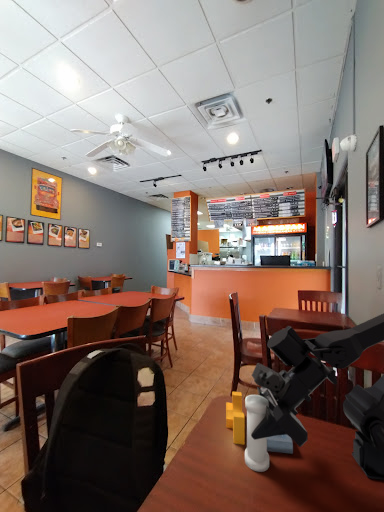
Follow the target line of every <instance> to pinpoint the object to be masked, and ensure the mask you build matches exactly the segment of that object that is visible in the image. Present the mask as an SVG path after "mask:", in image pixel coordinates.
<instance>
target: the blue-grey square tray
mask: <svg viewBox="0 0 384 512" xmlns="http://www.w3.org/2000/svg"><path fill="white" fill-rule="evenodd" d="M293 444H294V441H293V439H292V438H291V437H290V436H288V435H277V436H271V437H267V452H271V453H272V452H274V453H282V454H283V453H284V454H291V455H292V454H294V445H293Z"/></svg>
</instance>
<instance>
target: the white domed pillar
mask: <svg viewBox="0 0 384 512" xmlns="http://www.w3.org/2000/svg"><path fill="white" fill-rule="evenodd" d="M244 403H245V405H244V407H245V409H246V448H245V450H244V463H245V465H246V466H247V467H248V468H249V469H251V470H252V471H254V472H258V473H259V472H261V473H262V472H265V471H267V470H268V469H269V468H270V455H269V453H268V451H267V437H266V438H261V439H256V440H254V439H253V438H252V437H251V434H252V432H253V431H254V430H255V428H256V427H257V426H258V425H259V423H260V422H261V421H262V420H263V418H264V417H265V416H266V405H267V406H268V407H269V402H268V400H267V399H266V398H264V397H262V396H260V395H258V394H248V395H247V396H246V397H245V401H244Z"/></svg>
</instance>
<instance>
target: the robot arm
mask: <svg viewBox="0 0 384 512" xmlns="http://www.w3.org/2000/svg"><path fill="white" fill-rule="evenodd" d="M381 342H384V313H381V314H378V315H376V316H375V317H372V318H370V319H368V320H366V321H363V322H361V323H359V324H357V325H355V326H353V327H350V328H346V329H342V330H341V329H340V330H338V329H337V330H331V331H328V332H324V333H321V334H318V335H317V336H316V337H313V338H301V337H300V335H299V334H298V333H297V331H296V330H295V329H294V328H293V327H292V326H290V325H287V326H286V327H285V328H282V329H279V330H278V331H277V332H276V331H275V332H274V333H273V334H272V335H271V336H270V337H269V339H268V341H267V348H269V349H270V350H271V352H273V354H274V355H275V356H277V357H278V359H279V360H280V361H281V362H282V363H283V364H284V365H285V366H287V367H291V366H292V367H291V369H289V370H288V371H287V370H285V369H282V370H281V371H280V372H277V371H275V370H273V369H271V368H270V367H268V366H265V365H264V364H262V363H259V362H257V363H256V365H255V367H254V370H253V372H252V374H251V376H252V378H253V382H254V383H255V385H257V387H256V388H257V395H260V396H262V397H264V398H266V399H267V400H268V402H269V407H268V406H267V405H266V416H265V417H264V418H263V420H262V421H261V422H260V423H259V425H258V426H257V427H256V428H255V430H254V431H253V432H252V434H251V437H252V438H253V439H254V440H256V439H261V438H266V437H271V436H277V435H288V436H290V437H291V439H292V442H293V443H295V444H296V445H297V446H298V447H299V448H301V447H302V446H304V445H305V443H306V442H308V440H309V438H308V435H309V434H308V431H307V430H306V428H305V427H304V425H303V424H302V422H301V421H300V419H298V417H297V414H298V411H297V410H296V408H297V407H299V406H300V405H301V404H302V403H303V402H304V401H306V402H307V403H310V402H311V401H312V398H311V396H310V395H311V394H312V393H313V392H314V391H315V390H316V389H317V388H318V387H319V386H320V385H321V384H322V383H323V382H324V381H325V380H326V379H327V380H328V381H330V382H331V383H332V384H334V385H335V386H336V385H338V380H337V375H336V374H337V371H336V370H335V369H334V368H336V369H341V370H342V369H346V368H347V367H349V366H350V365H352V364H353V363H354V362H356V361H358V360H359V359H360V357H361V356H362V354H363V352H364V351H365V350H367V349H368V348H370V347H373V346H375V345H378V344H379V343H381ZM309 354H311V355H313V356H314V357H312V356H310V355H309ZM322 361H323V362H326V363H327V364H328V365H330V366H327V365H326V364H324V363H323V362H322ZM344 397H345V399H344V401H343V403H342V406H343V407H342V408H343V412H344V415H345V416H346V417H347V419H348V420H349V421H350V422H351V425H352V426H353V427H354V428H355V429H356V431H354V432H355V435H354V436H355V438H354V439H353V441H352V442H353V443H352V445H353V447H352V450H353V451H352V452H351V456H352V457H353V459H354V460H355V462H356V463H357V464H358V466H359V467H360V468H361V470H362V471H363V473H364V474H365V476H366V477H367V478H368V479H373V480H374V479H375V480H380V481H384V373H383V374H382V376H380V378H379V379H378V380H377V381H376V382H375V383H374V384H373V385H372V386H371V385H370V386H368V387H365V388H364V387H362V386H361V385H360V384H355V385H354V386H353V388H352V389H351V391H350V392H348V393H346V394H345V395H344Z"/></svg>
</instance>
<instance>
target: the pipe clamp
mask: <svg viewBox="0 0 384 512" xmlns="http://www.w3.org/2000/svg"><path fill="white" fill-rule="evenodd" d="M231 395H232V397H231V398H232V399H231V401H232V402H228V401H226V402H225V406H226V407H225V411H226V412H225V413H226V414H225V419H226V420H225V421H226V422H225V425H226V426H225V428H227V429H232V434H233V435H232V436H233V439H232V440H233V444H234V445H235V444H236V445H246V444H245V443H246V442H245V438H246V437H245V431H246V430H245V429H246V427H245V423H246V422H245V421H246V420H245V412H243V395H242V392H241V391H232V394H231Z"/></svg>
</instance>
